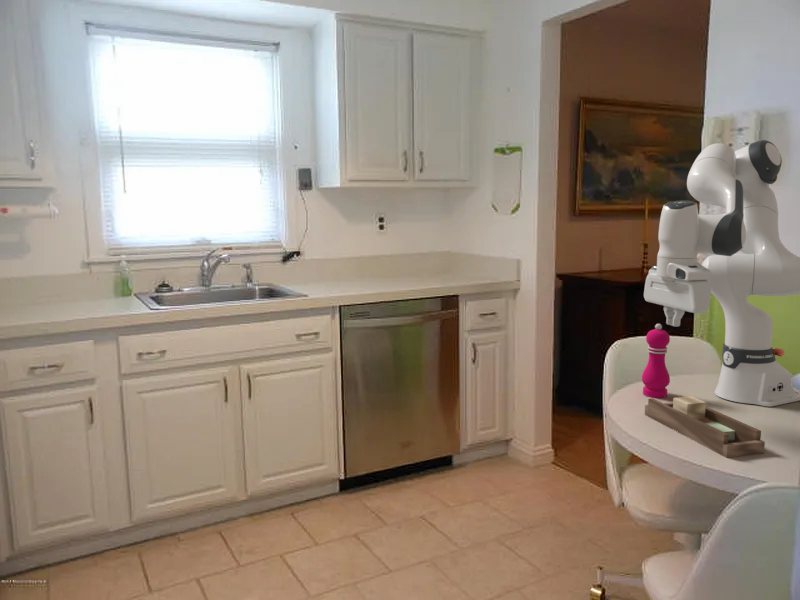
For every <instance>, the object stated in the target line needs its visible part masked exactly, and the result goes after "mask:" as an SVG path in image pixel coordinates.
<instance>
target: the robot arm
mask: <svg viewBox="0 0 800 600" xmlns="http://www.w3.org/2000/svg"><path fill="white" fill-rule="evenodd" d="M782 163H783V160H782V155H781V153H780V151H779V150H778V148H777V147H776V145H775V144H774V143H773V142H771V141H769V140H767V139H763V140H758V141H754V142H752V143H750V144H749V145H747V146H744V147H741V148H739V149H736V150H734V149H733V148H732V147H731V146H729V145H728V144H725V143H723V142H722V143H721V142H717V143H712V144H710V145H707V146H706V147H704V148H703V150H702V151H700V153H699V154H698V155H697V157H696V158H695V160H694V162H693V163H692V165H691V167H690V170H689V172H688V175H687V179H686V189H687V191H688V192H689V194H690V196H692V198H694V199H695V200H696V201H698V202H699V203H701V204H703V205H704V204H705V205H710V206H717V207H720V208H721V207H722V208H724V209H725V212H724V213H719V214H710V213H709V214H706V213H704V214H701V213H699V208H698V204H697V202H695V201H691V200H683V199H682V200H680V199H679V200H675V201H673V200H672V201H668V202H666V203H665V204H664V205H663V206H662V210H661V213H660V217H659V225H658V238H657V239H658V243H659V250H658V253H657V256H656V265H652V267H651V268H650V269H649V270H648V273H647V276H646V278H645V281H644V282H645V283H644V289H643V290H644V291H643V298H644V300H645V301H646V303H647V302H648V303H652V304H656V305H660V306H663V311H664V315H665V317H666V320H665V321H666V322H665V324H666V325H668V326H671V327H680V326H681V319H682V318H683V316H684V315H685V312H688V313H693V314H705V313H707V312H708V311H709V309H710V304H711V295H713V297H715V298H716V300H717V301H718V302H719V304H720V306H721V309H722V311H723V315H724V321H725V323H724V325H725V330H724V331H725V334H724V343H723V344H722V348H721V349H722V351H721V357H722V358H721V359H722V364H721V369H720V373H719V378H718V381H717V384H716V387H715V390H714V394H715V395H716V396H717V397H719V398H721V399H724V400H727V401H731V402H735V403H741V404H748V405H749V404H751V405H758V406H762V407H769V408H770V407H775V406H780V405H785V404H790V403H794V402H799V401H800V394H799V393H798V392H799V391H798V390H796V389H795V390H794V389H793V387H792V386H791V378H792V377H794V375H793V373H791V372H790V371H788V369H786V368H784V366H782V365H781V363H779V362H777V359H776V356H778V357H783V356H784V355H785V350H784V349H782V348H778V347H775V348H773V347H772V339H773V325H774V321H773V319H772V317H771V316H770V315H769V313H767V312H766V311H764V310H762V309H761V308H758V307H757V306H754V305H752V304H751V303H750V302H749V300H748V297H749V296H762V297H763V296H765V297H766V296H767V297H788V296H789V297H790V296H795V295H800V256H797V255H796V254H794V253H793V252H792V251H790V250H789V249H788V248H786V246H785V245H784V244H783V242H782V241H781V239H780V234H779V210H778V209H779V208H778V201H777V198H776V194H775V192H774V191H773V189H772V188H771V187H770V185H773V184H774V183H776V182H777V180H778V175H779V173H780V170H781V167H782ZM738 252H739V253H738ZM740 252H741V253H740ZM698 254H700V255H701V254H704V255H707V254H708V256H706V258H705V259H704V260H703V261H702V262H701V263H700V262H698ZM797 391H798V392H797Z"/></svg>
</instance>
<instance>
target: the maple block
mask: <svg viewBox="0 0 800 600" xmlns="http://www.w3.org/2000/svg"><path fill="white" fill-rule="evenodd" d="M672 400H673V401H672V402H673V408H674V409H676V410H678V411H680V412H682V413H684V414H687V415H689V416H691V417H693V418H695V419H697V420H698V419H705V408H706V407H707V402H706V401H704V400H701V399H700V398H697V397H695V396H692V395H691V396H690V395H689V396H683V397H678V398H677V397H673V399H672Z"/></svg>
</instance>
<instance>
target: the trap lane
mask: <svg viewBox="0 0 800 600" xmlns="http://www.w3.org/2000/svg"><path fill="white" fill-rule="evenodd" d="M678 397H684V396H683V395H677V396H676V398H678ZM644 415H645V416H646V417H648V418H650V419H652V420H654V421H657V423H660V424H662V425H663V426H665V425H666V426H665V427H667V426H668V427H667V428H669V427H670V428H669V429H671V428H672V430H673V429H674V431H675V430H676V431H675V432H677V431H678V432H677V433H679V434H681V435H683V436H684V435H685V437H686V436H687V438H688V437H689V439H690V438H691V439H690V440H691V441H692V440H693V441H694V440H695V441H694V442H696V441H697V442H696V443H698V444H700V445H702V446H703V447H705V446H706V447H705V448H707V447H708V448H707V449H709V448H710V449H709V450H711V451H714V452H715V453H717V454H719V455H720V456H722V457H725V458H733V457H734V458H735V457H741V456H750V455H758V454H764V453H765V446H766V442H765V441H764V440H762V438H761V437H762V436H761V435H762V430H761V429H758V428H756V427H753V426H752V425H749V424H748V423H747V424H746V423H744V422H742V421H739V419H738V420H737V419H735V418H733V417H730V416H728V415H726V414H724V413H723V412H720V411H717V410H714V409H713V408H710V407H707V406H706V408H705V419H698V420H697V419H695V418H693V417H691V416H689V415H687V414H684V413H682V412H680V411H678V410H676V409H674V408H673V401H672V402H661V401H659V400H657V399H656V398H652V397H650V398H648V403H647V404H645V405H644Z"/></svg>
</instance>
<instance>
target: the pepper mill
mask: <svg viewBox="0 0 800 600" xmlns="http://www.w3.org/2000/svg"><path fill="white" fill-rule="evenodd" d="M670 339H671V337H670V334H669V333H668V332H667V331H666V330H665V329H663V325H662V324H661V323H656V324H655V325H654V329H651V330H649V331H648V332H647V334H646V337H645V340H646V343H647V344H648V346H647V353H648V361H647V364H646V367H644V370H643V372H642V375H641V382H642V383H643V385H644V386H643V387H642V394H643V395H644V396H645V397H648V398H653V399H662V398H664V399H665V398H666V397H667V396H668V388H667V387H668V386H669V385H670V383H671V380H670V379H671V378H670V373H669V372H668V371H669V370H668V369H667V366H666V354H667V353H668V347H667V346H668V345H669V344H670V341H671V340H670Z"/></svg>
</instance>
